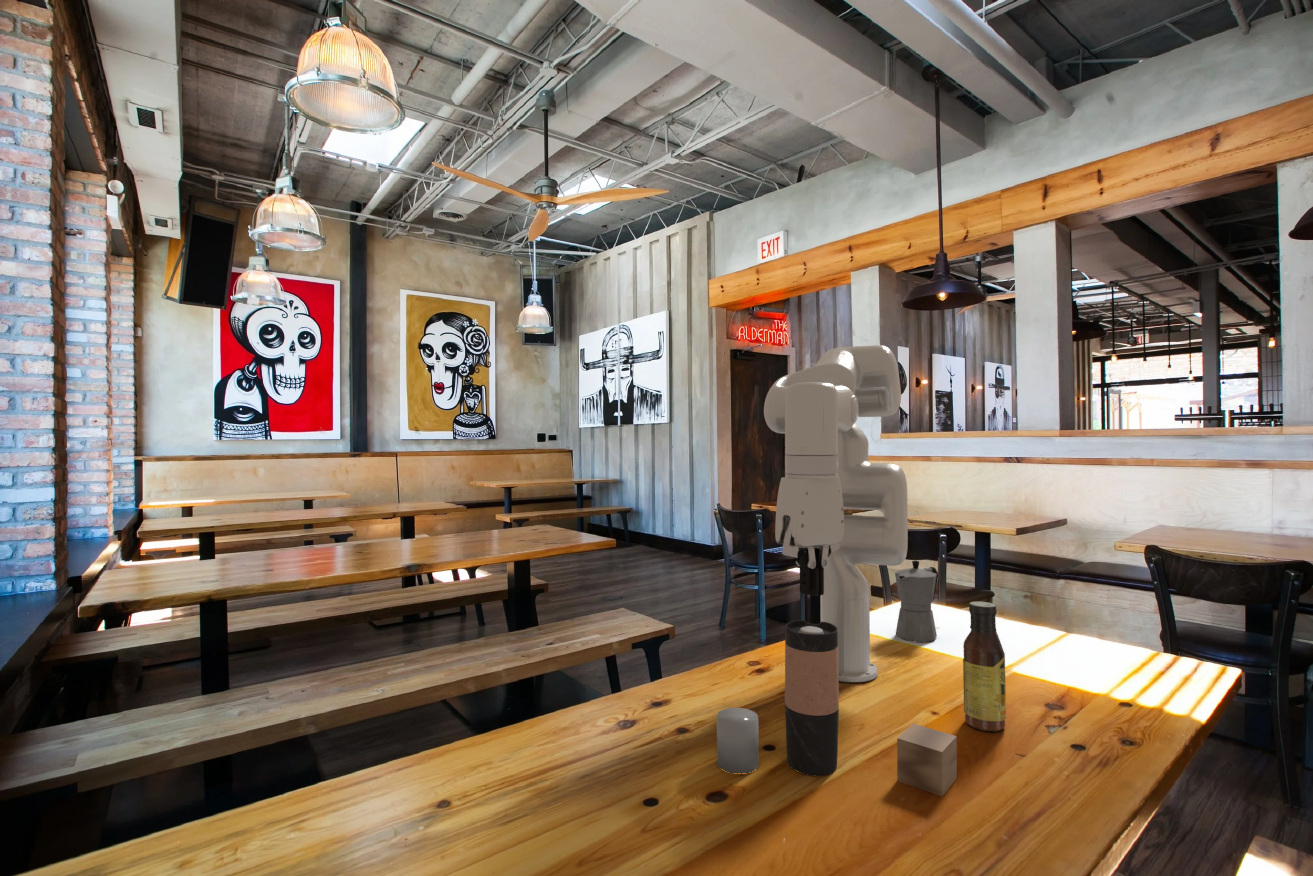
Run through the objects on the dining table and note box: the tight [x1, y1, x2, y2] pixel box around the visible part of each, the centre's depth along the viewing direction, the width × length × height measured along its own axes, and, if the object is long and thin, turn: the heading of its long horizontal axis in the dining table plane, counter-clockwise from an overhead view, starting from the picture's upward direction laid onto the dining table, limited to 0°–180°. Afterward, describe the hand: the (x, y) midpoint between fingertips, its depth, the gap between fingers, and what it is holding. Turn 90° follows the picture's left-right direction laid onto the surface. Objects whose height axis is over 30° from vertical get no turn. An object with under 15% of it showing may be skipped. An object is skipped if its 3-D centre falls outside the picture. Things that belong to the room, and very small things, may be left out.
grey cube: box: [896, 723, 958, 797], centre depth 90 cm, size 6×6×6 cm
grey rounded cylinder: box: [716, 707, 759, 774], centre depth 95 cm, size 6×6×7 cm
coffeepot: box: [894, 560, 939, 643], centre depth 155 cm, size 15×9×18 cm, turn 125°
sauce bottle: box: [962, 601, 1007, 733], centre depth 107 cm, size 7×6×20 cm
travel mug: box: [784, 619, 840, 777], centre depth 95 cm, size 8×8×20 cm
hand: (811, 593), depth 95 cm, fingers closed
